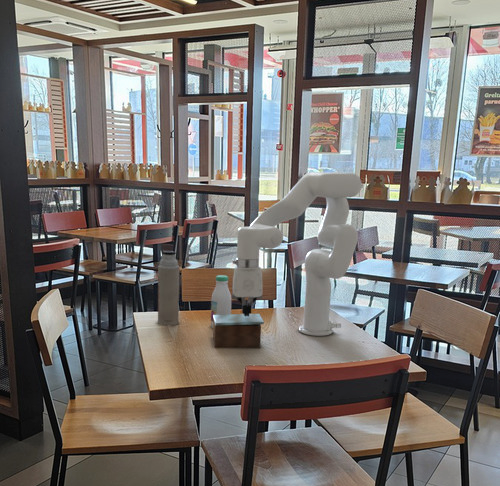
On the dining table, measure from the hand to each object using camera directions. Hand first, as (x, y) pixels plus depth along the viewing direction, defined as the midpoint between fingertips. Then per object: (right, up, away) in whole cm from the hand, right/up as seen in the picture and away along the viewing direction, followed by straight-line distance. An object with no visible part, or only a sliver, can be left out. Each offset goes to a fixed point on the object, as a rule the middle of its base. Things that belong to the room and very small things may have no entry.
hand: (246, 315), depth 199 cm
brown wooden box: (-4, -10, +2) cm, 11 cm away
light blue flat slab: (-3, -2, 0) cm, 3 cm away
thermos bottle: (-31, -4, +24) cm, 39 cm away
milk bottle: (-10, -5, +21) cm, 23 cm away
